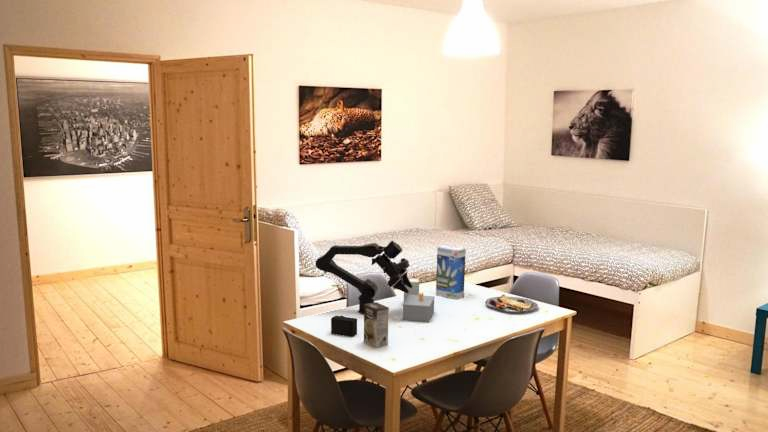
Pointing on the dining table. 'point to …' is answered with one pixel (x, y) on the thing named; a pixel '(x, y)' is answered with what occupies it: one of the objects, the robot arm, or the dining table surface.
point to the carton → (418, 313)
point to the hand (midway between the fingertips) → (410, 289)
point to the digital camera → (344, 326)
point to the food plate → (511, 304)
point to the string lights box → (450, 271)
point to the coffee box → (376, 324)
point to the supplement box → (414, 289)
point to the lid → (418, 300)
